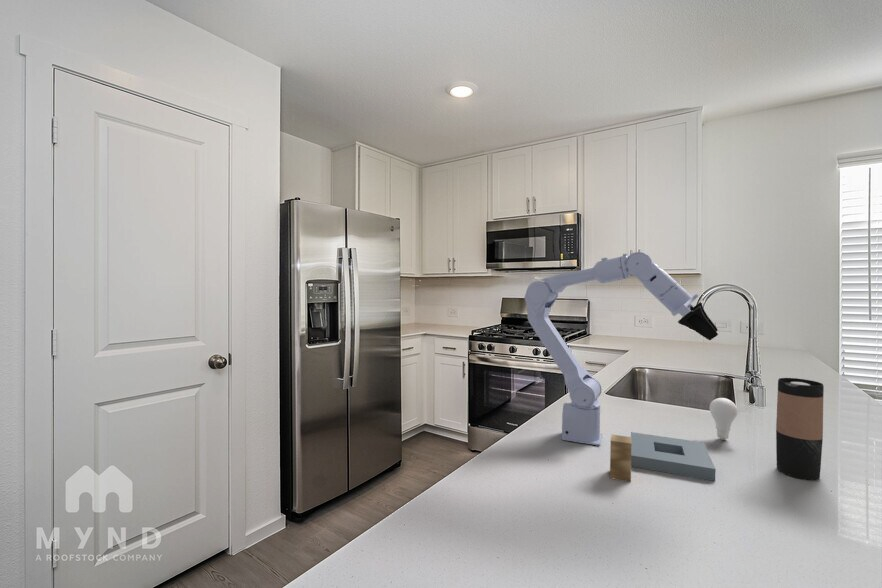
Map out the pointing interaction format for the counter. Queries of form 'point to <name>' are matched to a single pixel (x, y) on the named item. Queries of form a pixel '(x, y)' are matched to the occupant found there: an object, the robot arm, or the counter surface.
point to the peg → (620, 458)
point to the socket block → (671, 456)
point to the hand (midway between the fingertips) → (714, 335)
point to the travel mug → (799, 428)
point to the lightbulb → (723, 415)
